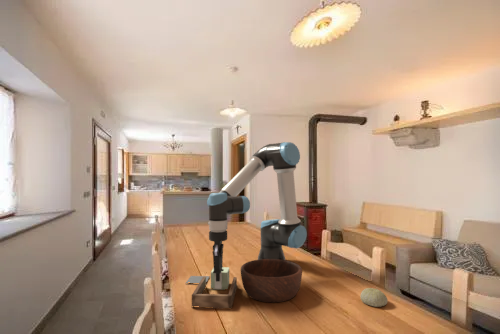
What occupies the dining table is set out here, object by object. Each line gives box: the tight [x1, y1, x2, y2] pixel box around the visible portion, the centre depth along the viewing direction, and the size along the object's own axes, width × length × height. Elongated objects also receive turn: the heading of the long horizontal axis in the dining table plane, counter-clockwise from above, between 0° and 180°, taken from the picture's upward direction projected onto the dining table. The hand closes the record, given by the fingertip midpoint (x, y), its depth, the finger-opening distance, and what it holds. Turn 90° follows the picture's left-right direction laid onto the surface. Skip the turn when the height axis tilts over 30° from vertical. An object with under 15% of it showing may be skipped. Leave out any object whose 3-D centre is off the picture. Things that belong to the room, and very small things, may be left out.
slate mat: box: [185, 275, 211, 284], centre depth 131 cm, size 9×9×1 cm
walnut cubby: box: [191, 276, 238, 309], centre depth 113 cm, size 14×19×4 cm
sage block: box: [210, 266, 230, 290], centre depth 125 cm, size 7×7×7 cm
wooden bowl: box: [240, 259, 303, 303], centre depth 118 cm, size 25×25×10 cm
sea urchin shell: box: [359, 287, 389, 308], centre depth 108 cm, size 9×8×8 cm
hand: (218, 288), depth 118 cm, fingers closed
